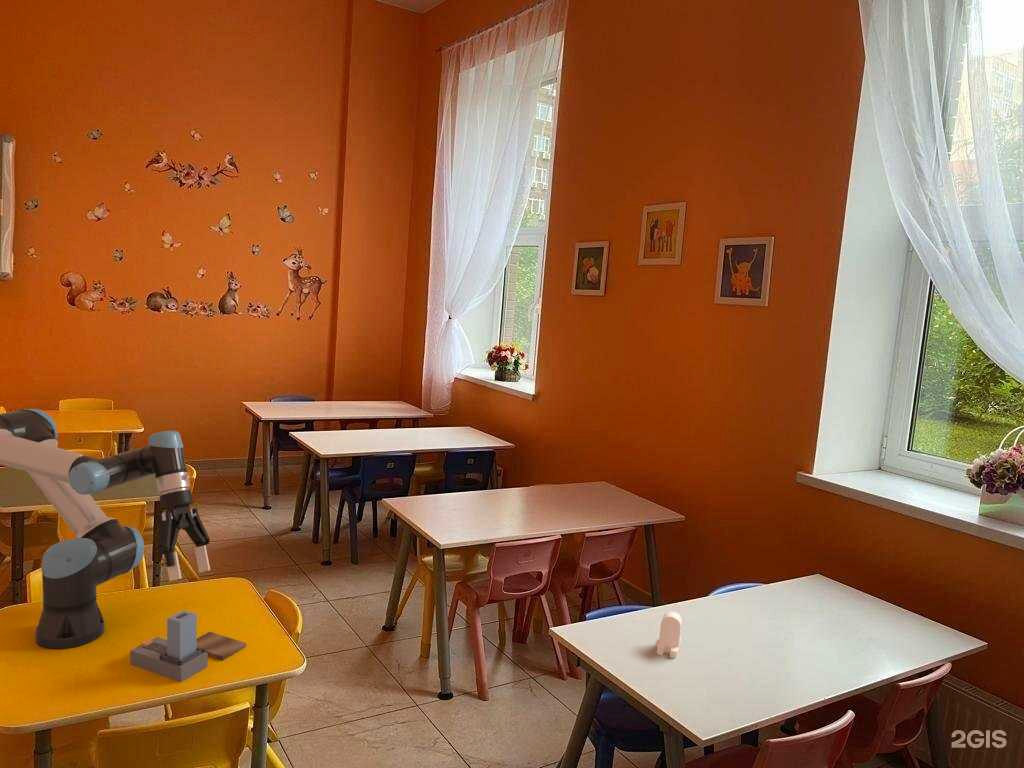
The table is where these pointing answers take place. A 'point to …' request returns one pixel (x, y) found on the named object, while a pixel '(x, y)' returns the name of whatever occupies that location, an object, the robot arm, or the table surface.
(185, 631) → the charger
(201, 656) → the grey rectangular box
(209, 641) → the walnut board
